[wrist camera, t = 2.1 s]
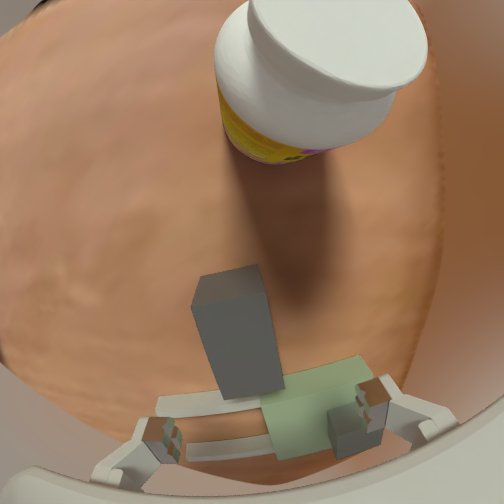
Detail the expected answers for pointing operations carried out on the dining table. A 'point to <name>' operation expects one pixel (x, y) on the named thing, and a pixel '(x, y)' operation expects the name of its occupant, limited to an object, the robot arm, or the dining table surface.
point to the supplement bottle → (313, 72)
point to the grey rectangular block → (238, 332)
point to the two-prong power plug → (287, 416)
